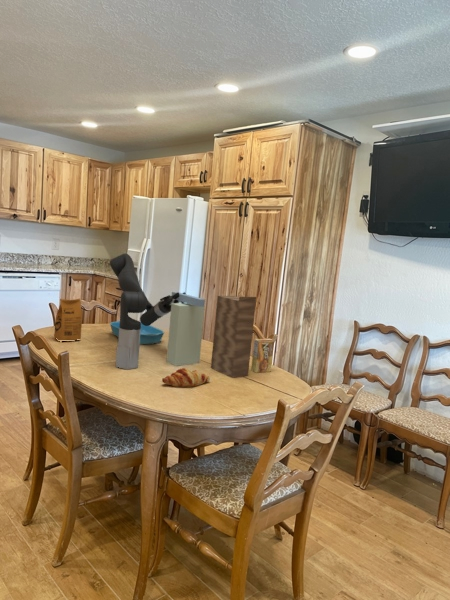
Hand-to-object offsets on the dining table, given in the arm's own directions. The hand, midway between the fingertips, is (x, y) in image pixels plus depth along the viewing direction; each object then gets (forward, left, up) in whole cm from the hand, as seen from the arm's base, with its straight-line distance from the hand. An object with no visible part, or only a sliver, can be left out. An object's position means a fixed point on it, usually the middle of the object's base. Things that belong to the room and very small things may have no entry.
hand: (181, 294), depth 203 cm
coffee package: (-6, +61, -32) cm, 70 cm away
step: (-3, -5, -32) cm, 33 cm away
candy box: (+8, -41, -32) cm, 52 cm away
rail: (-3, -4, -3) cm, 6 cm away
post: (-3, -28, -32) cm, 43 cm away
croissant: (-30, -20, -32) cm, 49 cm away
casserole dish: (+23, +38, -32) cm, 55 cm away
